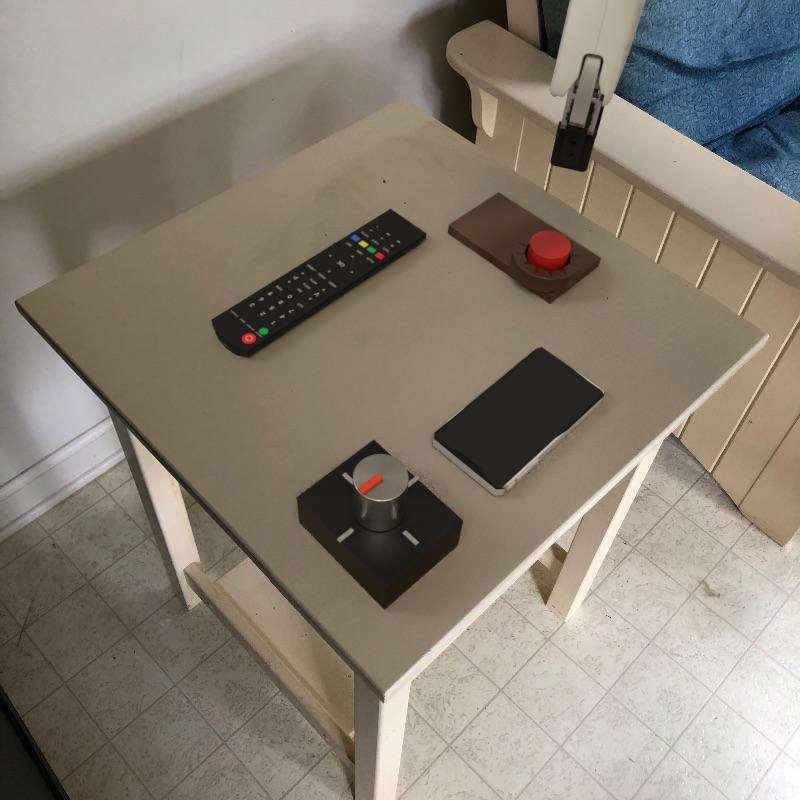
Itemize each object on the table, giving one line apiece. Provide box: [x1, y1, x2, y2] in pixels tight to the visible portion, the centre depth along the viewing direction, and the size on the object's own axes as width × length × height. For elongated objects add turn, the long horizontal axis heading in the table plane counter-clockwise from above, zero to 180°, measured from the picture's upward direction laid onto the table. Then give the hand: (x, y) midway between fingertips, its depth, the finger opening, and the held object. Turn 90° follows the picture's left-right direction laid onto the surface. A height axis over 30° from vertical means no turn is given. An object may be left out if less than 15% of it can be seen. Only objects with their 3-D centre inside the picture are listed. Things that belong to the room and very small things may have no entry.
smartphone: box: [432, 346, 606, 497], centre depth 72 cm, size 8×1×15 cm
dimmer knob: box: [353, 454, 409, 532], centre depth 60 cm, size 4×4×5 cm
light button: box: [527, 231, 571, 271], centre depth 81 cm, size 4×4×2 cm
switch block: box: [447, 192, 602, 305], centre depth 85 cm, size 14×9×3 cm, turn 45°
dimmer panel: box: [296, 439, 464, 610], centre depth 64 cm, size 10×8×4 cm
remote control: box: [210, 208, 427, 357], centre depth 81 cm, size 5×24×1 cm, turn 135°
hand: (573, 149), depth 72 cm, fingers open, 3 cm apart
